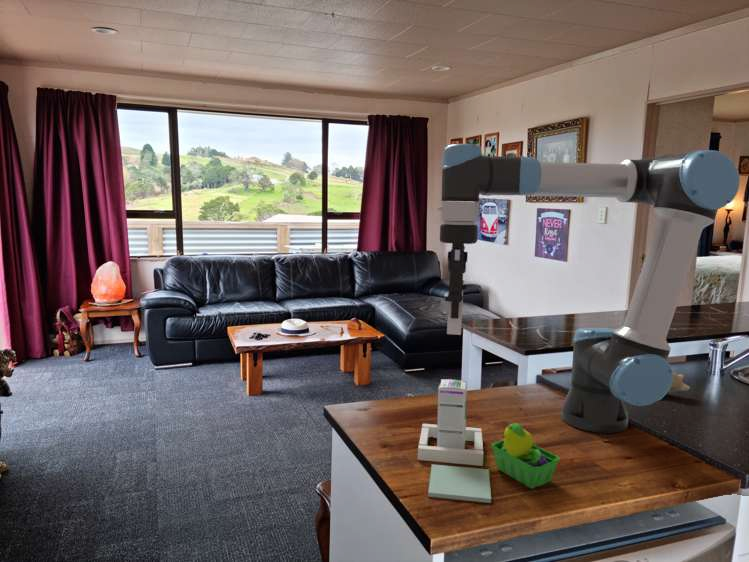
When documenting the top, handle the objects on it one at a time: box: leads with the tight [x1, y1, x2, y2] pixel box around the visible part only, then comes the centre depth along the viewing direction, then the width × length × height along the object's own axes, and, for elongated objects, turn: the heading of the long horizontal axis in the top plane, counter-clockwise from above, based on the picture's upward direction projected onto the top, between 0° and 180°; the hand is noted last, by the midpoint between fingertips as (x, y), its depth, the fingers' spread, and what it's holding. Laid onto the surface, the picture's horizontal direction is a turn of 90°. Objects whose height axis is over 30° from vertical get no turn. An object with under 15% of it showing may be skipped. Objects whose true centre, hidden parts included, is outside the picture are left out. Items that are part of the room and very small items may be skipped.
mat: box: [427, 463, 492, 504], centre depth 104 cm, size 11×11×1 cm
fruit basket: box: [491, 422, 561, 489], centre depth 108 cm, size 11×9×11 cm
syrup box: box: [436, 378, 468, 449], centre depth 119 cm, size 6×6×14 cm
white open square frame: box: [417, 423, 484, 467], centre depth 119 cm, size 13×13×2 cm
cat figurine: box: [667, 371, 691, 394], centre depth 156 cm, size 8×7×12 cm
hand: (454, 326), depth 116 cm, fingers open, 13 cm apart
